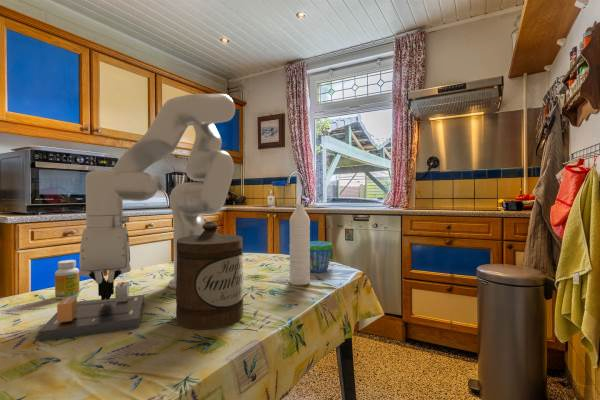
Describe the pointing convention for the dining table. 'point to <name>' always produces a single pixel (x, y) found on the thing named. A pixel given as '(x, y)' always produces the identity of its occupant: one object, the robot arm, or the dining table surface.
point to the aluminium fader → (121, 291)
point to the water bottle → (300, 246)
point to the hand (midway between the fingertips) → (106, 297)
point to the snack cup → (320, 256)
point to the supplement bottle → (66, 280)
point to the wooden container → (209, 279)
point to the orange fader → (67, 310)
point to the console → (96, 318)
